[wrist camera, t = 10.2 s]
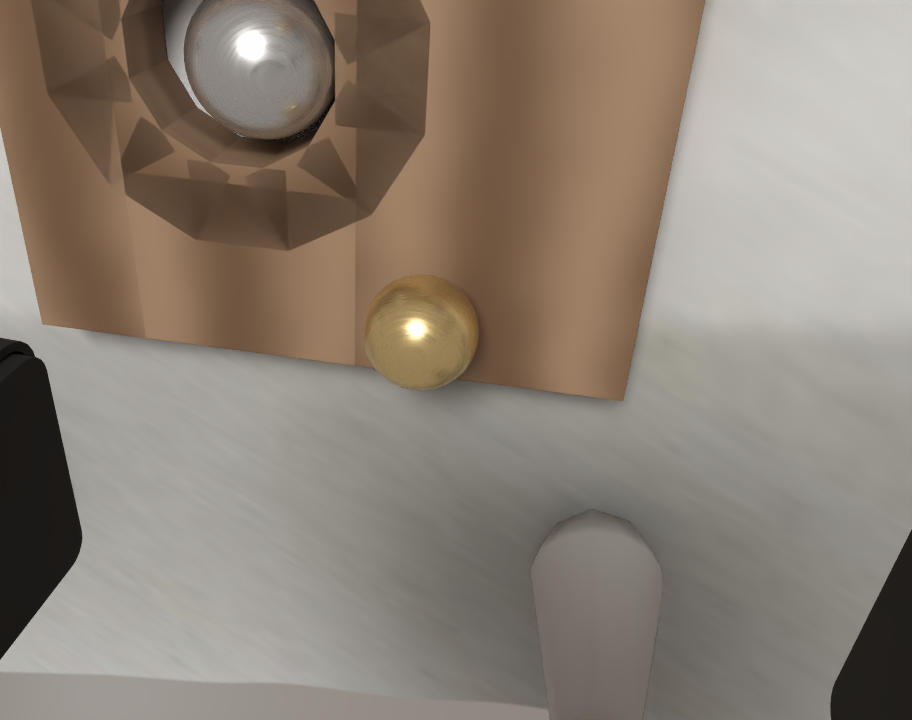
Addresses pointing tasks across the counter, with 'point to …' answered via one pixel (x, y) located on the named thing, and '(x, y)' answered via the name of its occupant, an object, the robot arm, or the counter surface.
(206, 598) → the counter surface
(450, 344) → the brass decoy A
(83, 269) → the board
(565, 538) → the salt shaker
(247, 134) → the steel ball
